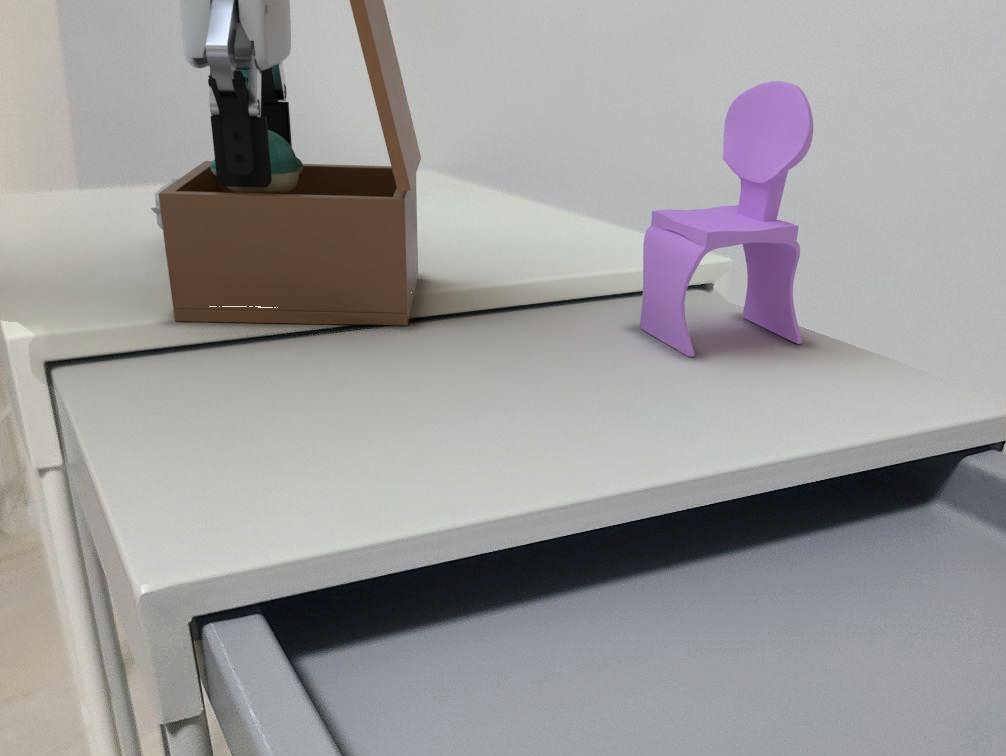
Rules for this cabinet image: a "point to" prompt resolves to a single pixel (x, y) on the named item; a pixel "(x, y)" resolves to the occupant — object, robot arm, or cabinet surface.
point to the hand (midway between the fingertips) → (257, 172)
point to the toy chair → (736, 220)
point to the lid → (387, 89)
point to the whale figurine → (276, 168)
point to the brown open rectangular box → (293, 248)
